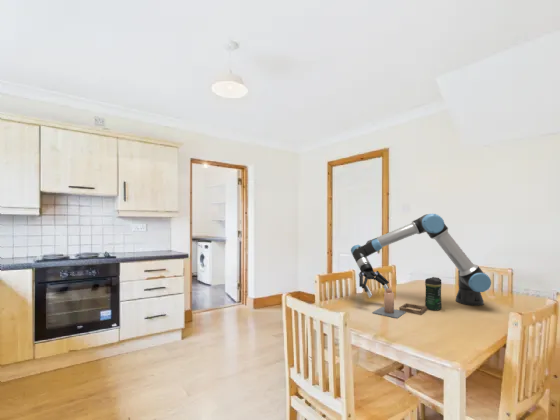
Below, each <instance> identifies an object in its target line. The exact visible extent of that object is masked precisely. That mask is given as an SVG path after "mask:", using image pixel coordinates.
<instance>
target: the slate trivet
mask: <svg viewBox="0 0 560 420" xmlns="http://www.w3.org/2000/svg"><path fill="white" fill-rule="evenodd" d="M406 313H407V312H406V311H401V310H399V309H395V308H394V313H386V312H384V306H381V307H379V308H377V309H375V310H374V311H372V314H375V315H379V316H384V317H387V318H388V317H389V318H393V319H399V318H400V317H402V316H404V314H406Z"/></svg>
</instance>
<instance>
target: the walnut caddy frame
mask: <svg viewBox="0 0 560 420" xmlns="http://www.w3.org/2000/svg"><path fill="white" fill-rule="evenodd" d="M398 310H401V311H406V313H408V314H414V315H419V316H422V315H423V314H424V313H426V312H427V311H428V309H427V307H426V306H425V305H419V304H414V303H408V302H406V303H404V304H403V305H401V306H399V308H398Z"/></svg>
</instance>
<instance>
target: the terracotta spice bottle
mask: <svg viewBox="0 0 560 420" xmlns="http://www.w3.org/2000/svg"><path fill="white" fill-rule="evenodd" d="M392 289H393V288H391V287H389V288H386V291H385V290H384V292H383V293H384V294H383V295H384V297H383V302H384V304H383V307H384V312H386V313H394V309H395V292H393V290H392Z"/></svg>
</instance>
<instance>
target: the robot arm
mask: <svg viewBox="0 0 560 420" xmlns="http://www.w3.org/2000/svg"><path fill="white" fill-rule="evenodd" d="M448 231H449V227H448V226H447V225H446V224H445V221H444V219H443V217H441V215H439V214H436V213H428V214H424V215H422V216H421V217H419V218H417V219H414V220H412V221H411V223H409V224H407V225H406V224H405V225H404V226H401V227H399V228H396V229H394V230H391V231H389V232H388V233H385V234H382V235H380V236H377V237H375V238H373V239H369V240H367V241H366V243H365V244H363V245H360V244H356V245H353V246H351V248H350V252H351V255H352V257H353V259H354V260H355V263H356V264H357V267H358V269H359V270H360V272H359V273H358V278H359V284H358V285H359V287H360V288H361V289H363V290H364V292H365V293H366V294H367V297H368V298H371V297H372V296H373V294H372V291H371V290H370V288H369V286H368V285H367V283H368V280H373V281H376V282H378V283H379V284H381V285H382V288H383V289H384V292H385V291H386V288H390V287H389V286H388V284H389V283H390V282H389V280H388V279H386V278H385V277H384V276H383V275H382V274H381V273H380V272H379V271H378V270H376V271H374V267H373V266H372V264H371V262H370V260H369V259H368V257H369V256H371V255H373V254H374V253H376V252H379V251H381V250H382V249H383V248H384V247H386V246H389V245H391V244H395V243H396V242H398V241H402V240H404V239H406V238H409V237H412V236H414V235H416V234H417V235H420V234H424V233H426V234H427V236H429V238H430V239H432V240H435V242H437V244H438V245H439V246H440V248H441V249H442V250H443V252H444V253H445V254H446V255H447V256H448V259H449V260H450V261H451V262H452V263H453V265H454V266H455V267H456V268H457V269H458V271H457V272H458V290H457V293H456V295H455V301H456V302H457V303H459V304H463V305H467V306H483V305H484V304H485V303H484V299H483V296H482V295H483V294H482V293H485V292H486V291H488V290H489V289H490V288H491V285H492V280H491V277H490V276H489V275H487V274H486V273H485V272H483V270H482V269H481V267H479V265H478V264H474V263H473V262H472V260H471V259H470V257H469V256H467V254H466V253H465V252H464V251H463V248H461V247H460V245H459V244H458V243H457V242H456V240H455V239H454V238H453V236H451V234H450V233H449V232H448Z"/></svg>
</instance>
